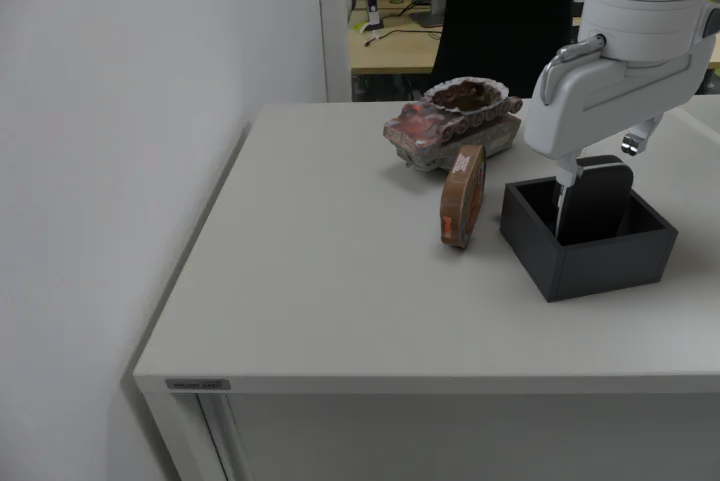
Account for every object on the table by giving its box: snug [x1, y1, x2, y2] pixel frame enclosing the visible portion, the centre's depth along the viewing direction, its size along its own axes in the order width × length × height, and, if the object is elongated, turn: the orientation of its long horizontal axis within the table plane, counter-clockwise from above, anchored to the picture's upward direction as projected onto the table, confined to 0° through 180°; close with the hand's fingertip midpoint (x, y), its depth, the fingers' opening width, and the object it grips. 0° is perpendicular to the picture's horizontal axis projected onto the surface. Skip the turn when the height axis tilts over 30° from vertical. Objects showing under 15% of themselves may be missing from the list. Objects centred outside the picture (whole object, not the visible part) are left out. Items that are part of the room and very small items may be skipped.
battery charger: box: [552, 154, 635, 247], centre depth 59 cm, size 7×4×11 cm, turn 99°
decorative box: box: [382, 76, 524, 173], centre depth 76 cm, size 13×20×10 cm, turn 120°
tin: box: [439, 145, 487, 248], centre depth 66 cm, size 15×3×8 cm, turn 160°
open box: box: [499, 175, 680, 303], centre depth 61 cm, size 13×13×7 cm
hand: (600, 166), depth 55 cm, fingers open, 8 cm apart
